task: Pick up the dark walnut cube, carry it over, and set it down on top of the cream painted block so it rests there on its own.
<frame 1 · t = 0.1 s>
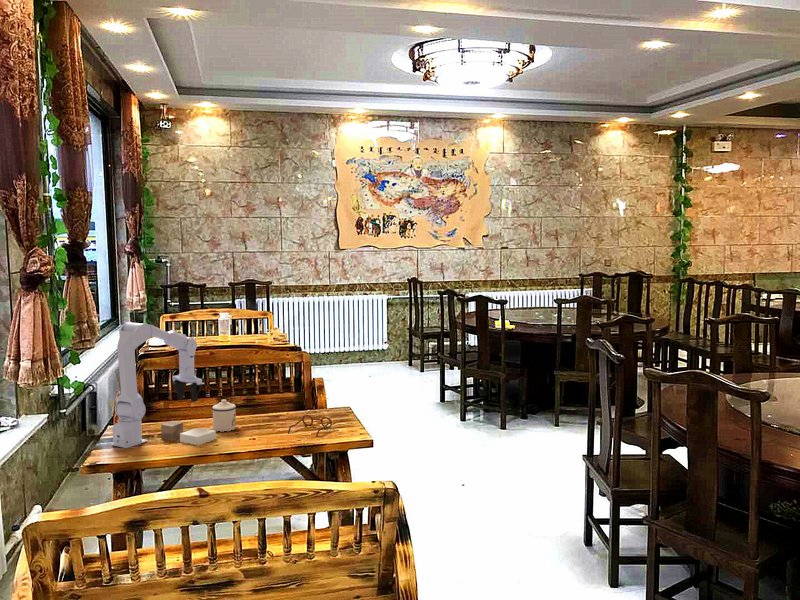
hand: (187, 400, 264), 10 cm above the table, tool pointing down, fingers open, 7 cm apart
cream block: (198, 441, 244), on the table
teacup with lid: (224, 428, 261), on the table
glasses: (309, 432, 257), on the table
walnut cube: (172, 437, 248), on the table
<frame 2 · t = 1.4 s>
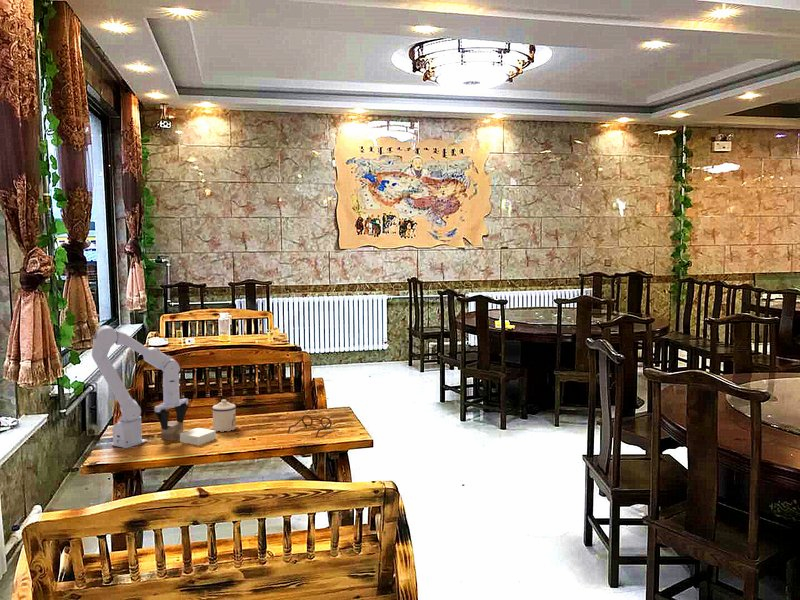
hand: (172, 426, 247), 4 cm above the table, tool pointing down, fingers open, 7 cm apart
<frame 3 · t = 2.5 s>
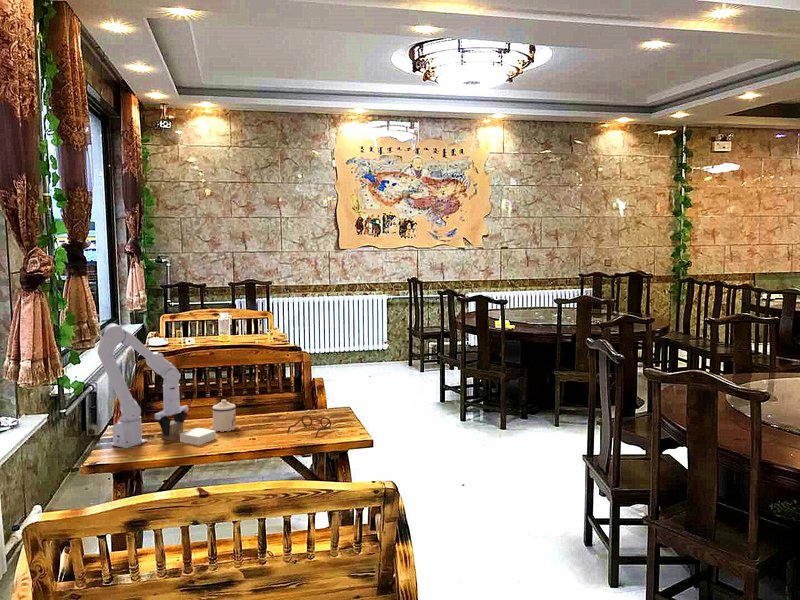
hand: (172, 433, 248), 1 cm above the table, tool pointing down, fingers closed on walnut cube, 5 cm apart
walnut cube: (172, 437, 248), on the table, touching gripper
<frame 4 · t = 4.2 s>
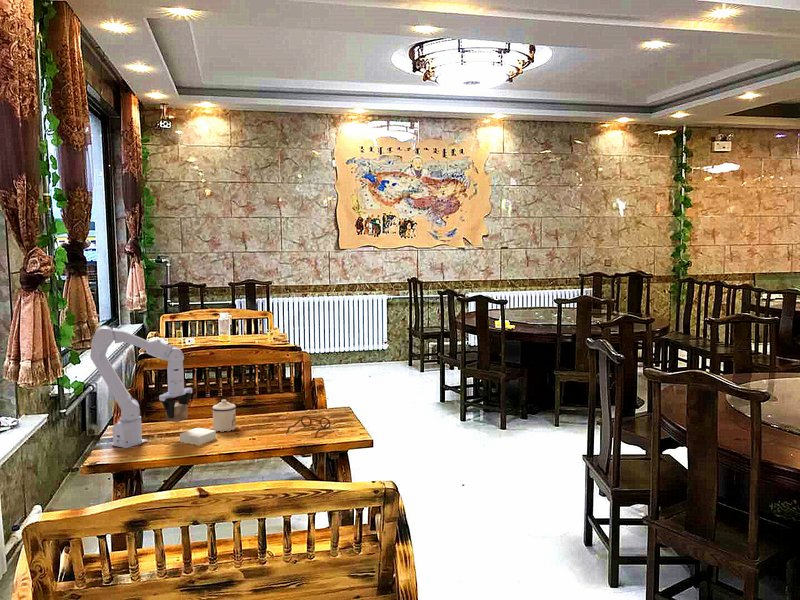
hand: (176, 415, 246), 8 cm above the table, tool pointing down, fingers closed on walnut cube, 5 cm apart
walnut cube: (177, 419, 247), point 7 cm above the table, touching gripper
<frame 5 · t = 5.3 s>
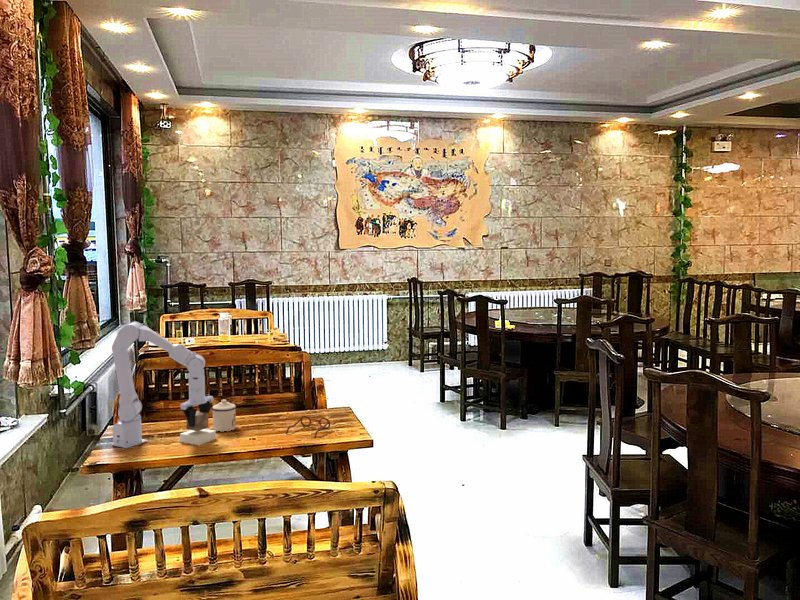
hand: (197, 424, 244), 6 cm above the table, tool pointing down, fingers closed on walnut cube, 5 cm apart
walnut cube: (197, 428, 244), point 5 cm above the table, touching gripper
when the fingers open (6 cm above the table, at t = 6.1 s): walnut cube drops 2 cm, resting on cream block.
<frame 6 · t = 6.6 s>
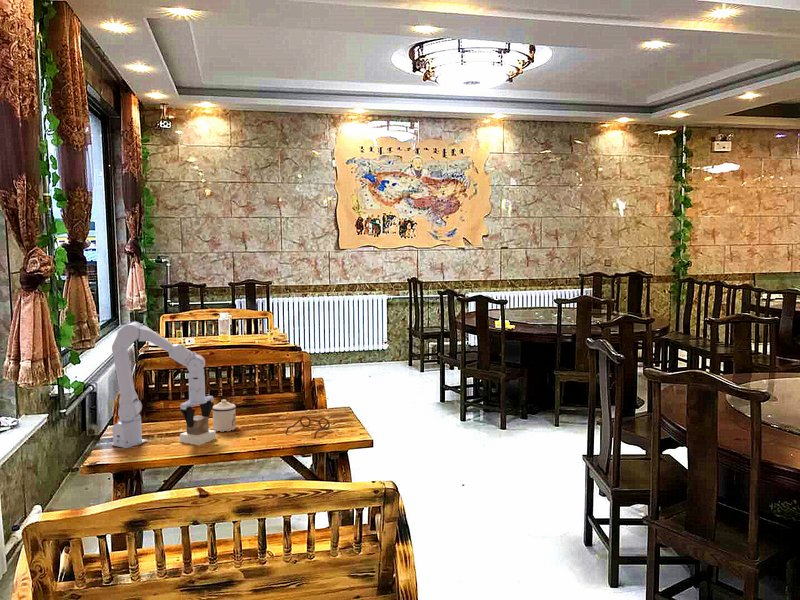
hand: (197, 424, 244), 6 cm above the table, tool pointing down, fingers open, 7 cm apart
cream block: (198, 441, 244), on the table, touching walnut cube
walnut cube: (197, 432, 244), point 3 cm above the table, touching cream block
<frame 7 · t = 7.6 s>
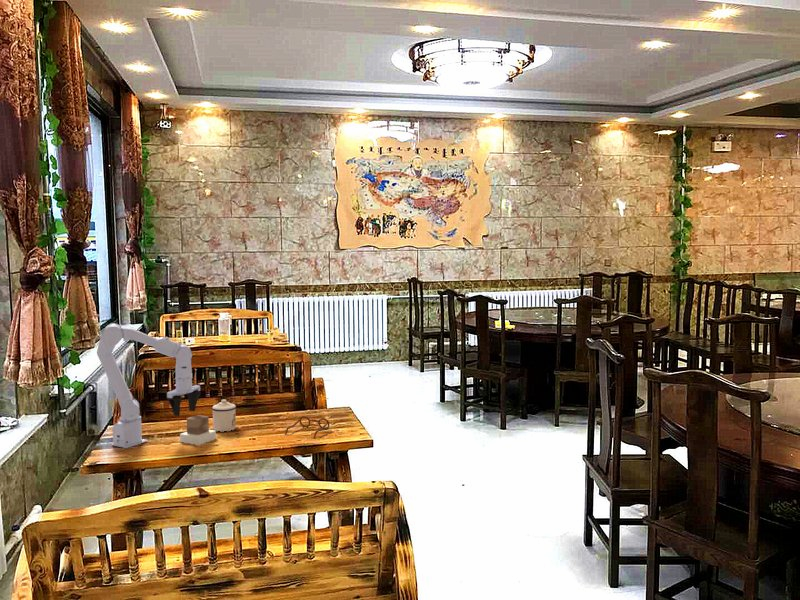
hand: (184, 413, 247), 9 cm above the table, tool pointing down, fingers open, 7 cm apart
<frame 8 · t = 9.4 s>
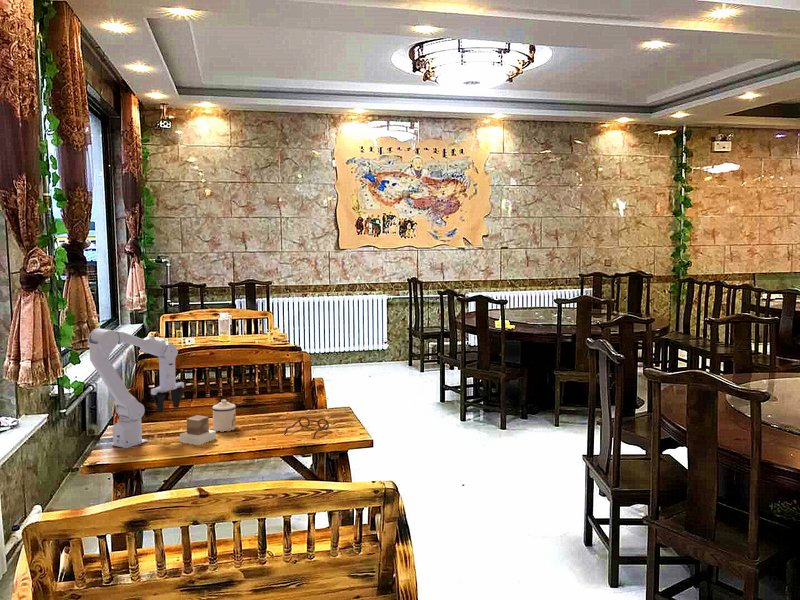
hand: (168, 409, 252), 9 cm above the table, tool pointing down, fingers open, 7 cm apart
cream block: (198, 441, 244), on the table
walnut cube: (197, 432, 244), point 3 cm above the table
at the end: walnut cube 0.1 cm off-centre on the cream block, point 3.5 cm above the cream block's base; walnut cube tilted 1°; the gripper is holding nothing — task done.
